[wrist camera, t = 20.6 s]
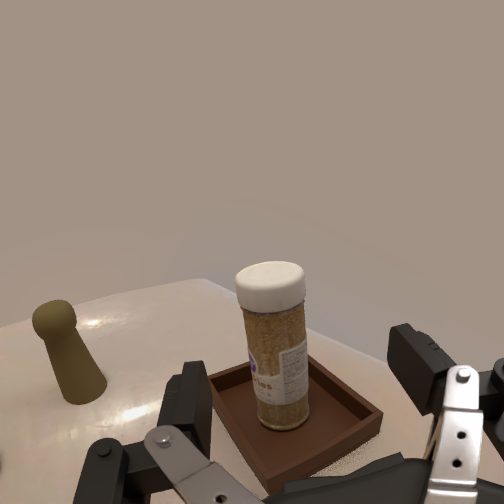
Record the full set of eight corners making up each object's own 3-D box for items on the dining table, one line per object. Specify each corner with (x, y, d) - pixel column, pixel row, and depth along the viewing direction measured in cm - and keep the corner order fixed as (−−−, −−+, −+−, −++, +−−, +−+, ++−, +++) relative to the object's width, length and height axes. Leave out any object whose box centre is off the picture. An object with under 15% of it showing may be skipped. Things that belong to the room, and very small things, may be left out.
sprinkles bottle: (248, 412, 25) (221, 272, 21) (289, 390, 27) (276, 254, 23) (278, 441, 21) (259, 291, 17) (321, 414, 23) (318, 268, 19)
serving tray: (379, 432, 20) (384, 412, 20) (269, 495, 16) (265, 480, 16) (295, 362, 32) (294, 343, 31) (207, 396, 28) (202, 377, 27)
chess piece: (87, 368, 33) (57, 290, 30) (116, 382, 31) (83, 296, 28) (54, 393, 28) (17, 312, 25) (81, 411, 26) (38, 322, 23)
